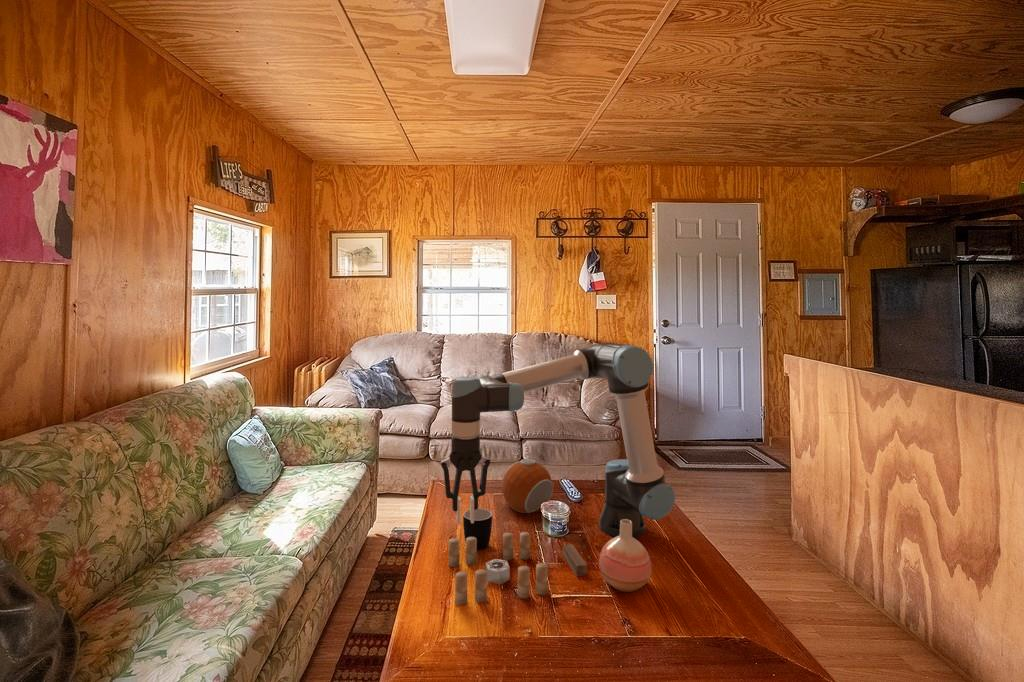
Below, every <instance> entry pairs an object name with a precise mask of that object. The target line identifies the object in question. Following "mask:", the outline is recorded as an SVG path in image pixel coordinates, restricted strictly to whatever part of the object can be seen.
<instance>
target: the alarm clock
mask: <svg viewBox="0 0 1024 682" xmlns="http://www.w3.org/2000/svg"><path fill="white" fill-rule="evenodd" d="M553 483H554V482H553V479H552V477H551V475H550V473H549V471H548V470H547V468H546V467H545V466H543V465H542V464H540V462H539V463H538V462H537V461H536V460H535V459H532V458H523V459H520V461H519V460H518V461H516V462H514V463H513V464H512V465H510V466H509V467H508V468H507V469H506V471H505V473H504V474H503V477H502V478H501V492H502V494H503V497H504V499H505V502H506V503H507V504H508V506H509V507H510V508H511V509H513V510H514V511H516V512H519V513H523V514H524V513H525V514H530V513H533V512H535V511H539V510H540V509H539V508H540V505H541V504H542V503H543V502H547V501H548V502H549V501H550V500H551V498H552V496H553V492H554V487H555V486H554V484H553Z"/></svg>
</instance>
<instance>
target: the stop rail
mask: <svg viewBox="0 0 1024 682" xmlns="http://www.w3.org/2000/svg"><path fill="white" fill-rule="evenodd" d="M561 554H562V555H561V556H563V557H564V560H565V561H566V562H567V565H568V566H569V568H570V569H571V571H572V572H573V574H574V575H575V577H585V576H587V575H588V574H587V573H588V569H587V568H588V565H587V563H586V561H585V560H584V558H582V555H580V553H579V551H578V550H577V549H576V548H575V546H574V545H573V544H572V543H571V544H570V543H568V544H562V553H561Z"/></svg>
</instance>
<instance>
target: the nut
mask: <svg viewBox="0 0 1024 682" xmlns="http://www.w3.org/2000/svg"><path fill="white" fill-rule="evenodd" d="M485 570H486V571H487V583H491V584H495V585H501V584H505V583H506V582H508V581H510V570H511V569H510V565H509V562H508V560H504V559H500V558H499V559H498V558H494V559H491V560H489V561H486V562H485Z"/></svg>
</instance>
